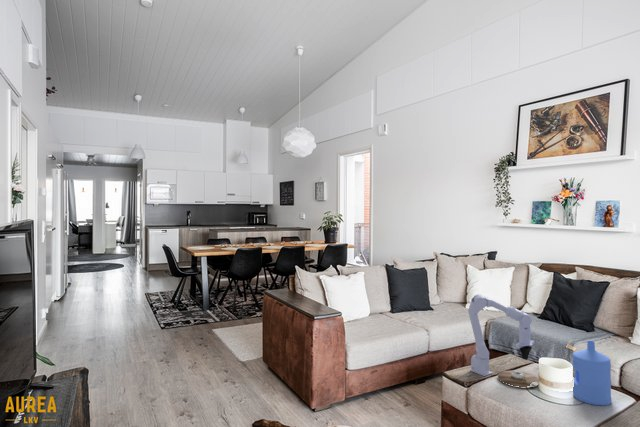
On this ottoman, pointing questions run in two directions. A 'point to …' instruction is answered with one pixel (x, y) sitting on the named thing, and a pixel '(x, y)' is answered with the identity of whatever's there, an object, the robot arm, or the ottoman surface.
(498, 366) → the ottoman surface
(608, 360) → the water jug
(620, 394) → the ottoman surface
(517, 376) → the cover
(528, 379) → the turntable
